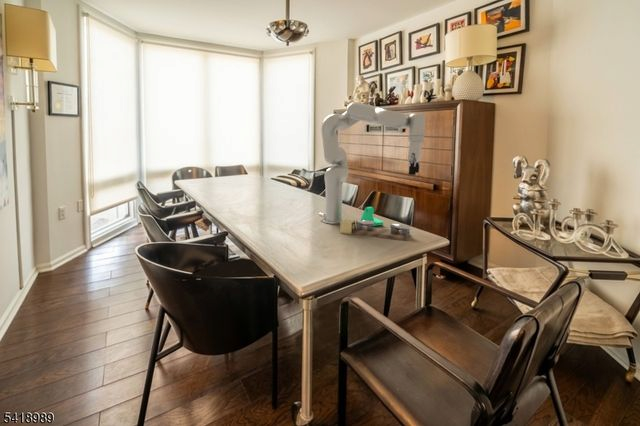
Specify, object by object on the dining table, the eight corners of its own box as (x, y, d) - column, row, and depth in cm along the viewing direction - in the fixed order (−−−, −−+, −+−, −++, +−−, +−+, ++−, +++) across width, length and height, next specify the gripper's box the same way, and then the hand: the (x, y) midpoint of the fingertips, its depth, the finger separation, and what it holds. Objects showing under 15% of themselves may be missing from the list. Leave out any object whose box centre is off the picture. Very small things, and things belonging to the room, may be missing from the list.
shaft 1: (355, 229, 184) (355, 220, 183) (356, 227, 189) (357, 218, 187) (373, 231, 182) (373, 222, 181) (374, 228, 186) (374, 220, 185)
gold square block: (339, 232, 184) (339, 221, 183) (343, 230, 190) (343, 219, 188) (352, 234, 181) (352, 223, 180) (356, 231, 187) (356, 220, 185)
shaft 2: (389, 233, 179) (389, 224, 178) (392, 231, 182) (393, 222, 181) (406, 236, 174) (407, 226, 173) (409, 234, 177) (410, 224, 176)
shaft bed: (354, 233, 183) (354, 230, 182) (360, 228, 192) (360, 225, 192) (405, 240, 172) (405, 237, 172) (409, 234, 182) (409, 231, 182)
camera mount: (383, 226, 197) (384, 208, 195) (372, 227, 194) (372, 209, 192) (372, 221, 208) (372, 204, 206) (360, 222, 205) (361, 205, 203)
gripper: (411, 138, 187) (409, 171, 191) (405, 139, 171) (402, 174, 175) (426, 139, 184) (423, 172, 188) (421, 139, 168) (418, 175, 172)
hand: (413, 173), depth 181 cm, fingers open, 9 cm apart
